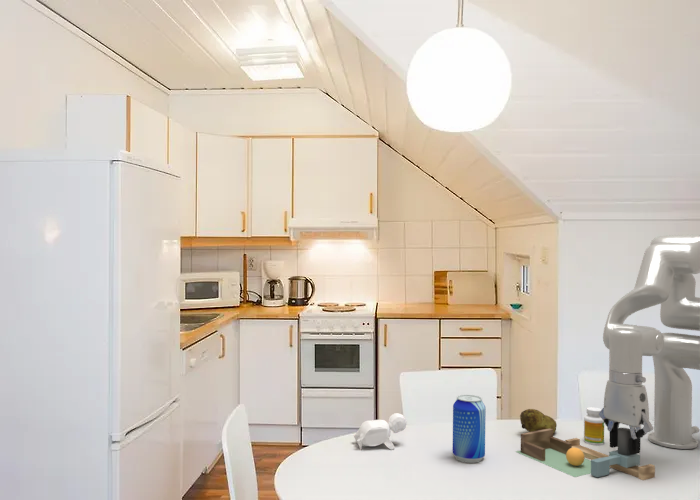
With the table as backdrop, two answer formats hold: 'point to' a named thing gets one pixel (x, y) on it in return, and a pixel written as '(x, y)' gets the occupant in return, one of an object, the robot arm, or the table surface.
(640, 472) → the rail
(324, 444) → the table surface
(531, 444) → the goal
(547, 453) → the felt mat
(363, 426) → the white turtle figurine
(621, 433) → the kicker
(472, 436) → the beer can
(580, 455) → the ball
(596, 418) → the supplement bottle
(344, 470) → the table surface
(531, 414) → the potato
